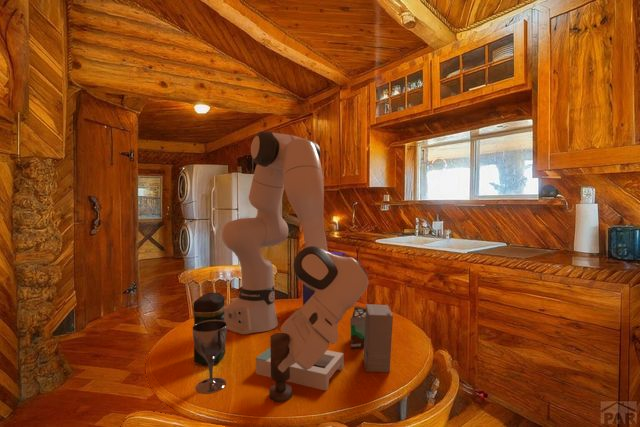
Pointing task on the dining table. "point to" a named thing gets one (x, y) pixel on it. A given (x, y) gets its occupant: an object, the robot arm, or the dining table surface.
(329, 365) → the keyhole plate
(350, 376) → the dining table surface
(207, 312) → the coffee jar
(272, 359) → the knob post
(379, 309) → the skincare box
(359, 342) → the food container
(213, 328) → the wine glass
